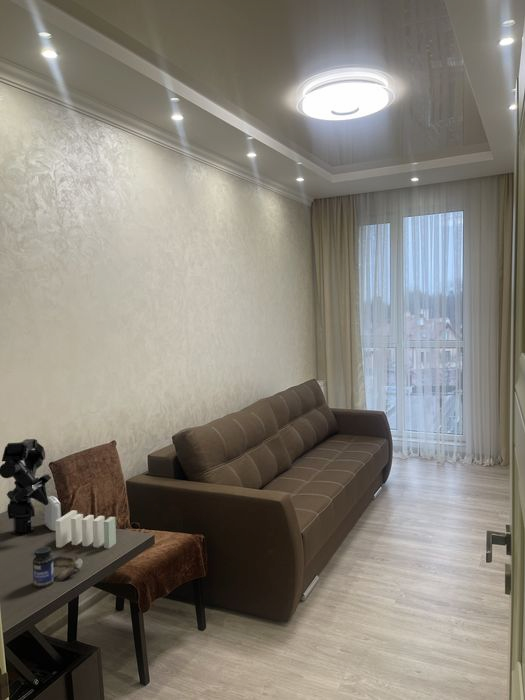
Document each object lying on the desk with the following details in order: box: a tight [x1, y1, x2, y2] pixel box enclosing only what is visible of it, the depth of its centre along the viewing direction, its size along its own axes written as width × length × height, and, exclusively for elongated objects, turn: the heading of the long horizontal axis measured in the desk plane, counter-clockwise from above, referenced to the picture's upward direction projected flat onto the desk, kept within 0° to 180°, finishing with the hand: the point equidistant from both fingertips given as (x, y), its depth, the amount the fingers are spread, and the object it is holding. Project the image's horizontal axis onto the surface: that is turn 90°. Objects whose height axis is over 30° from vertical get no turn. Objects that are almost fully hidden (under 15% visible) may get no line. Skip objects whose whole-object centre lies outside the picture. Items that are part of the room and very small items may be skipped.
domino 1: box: [55, 509, 78, 548], centre depth 202 cm, size 2×11×10 cm, turn 167°
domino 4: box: [92, 515, 106, 548], centre depth 199 cm, size 2×5×10 cm, turn 167°
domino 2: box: [71, 513, 84, 546], centre depth 201 cm, size 2×5×10 cm, turn 167°
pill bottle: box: [32, 546, 55, 589], centre depth 170 cm, size 6×6×11 cm
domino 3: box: [81, 514, 95, 547], centre depth 200 cm, size 2×5×10 cm, turn 167°
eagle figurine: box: [53, 554, 84, 582], centre depth 175 cm, size 8×7×9 cm
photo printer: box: [43, 495, 62, 532], centre depth 215 cm, size 10×4×12 cm, turn 39°
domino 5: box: [103, 516, 117, 549], centre depth 198 cm, size 2×5×10 cm, turn 167°
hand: (47, 504), depth 204 cm, fingers closed
